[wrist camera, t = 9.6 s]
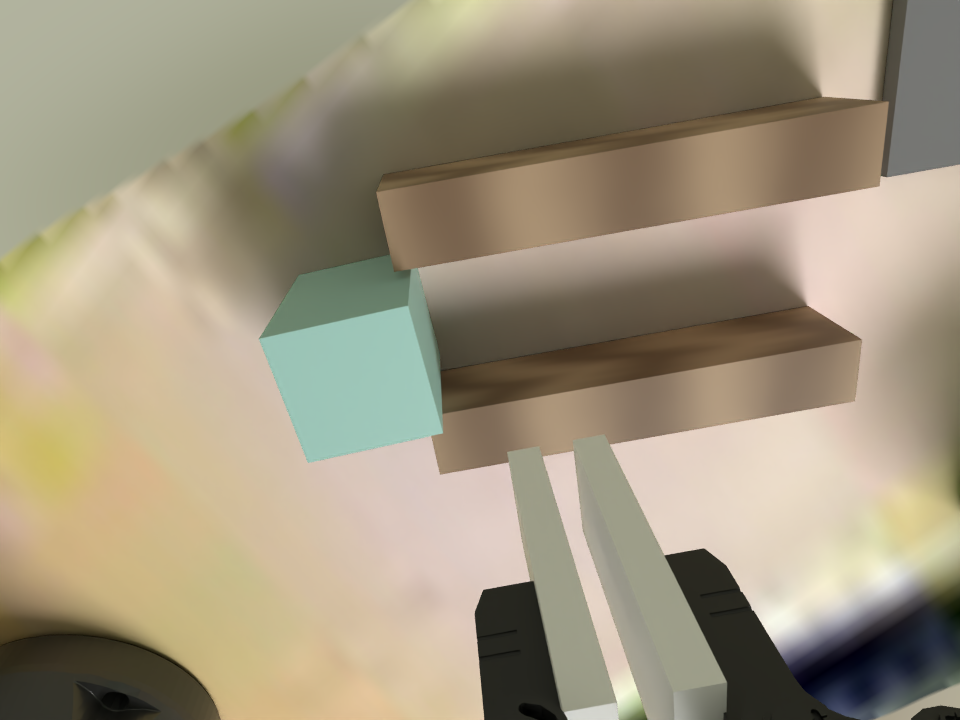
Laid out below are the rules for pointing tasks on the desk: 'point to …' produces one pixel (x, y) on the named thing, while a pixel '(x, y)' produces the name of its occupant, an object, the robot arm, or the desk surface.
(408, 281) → the teal block
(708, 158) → the parallel wooden bars
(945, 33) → the rubber mat
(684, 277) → the desk surface
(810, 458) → the desk surface
